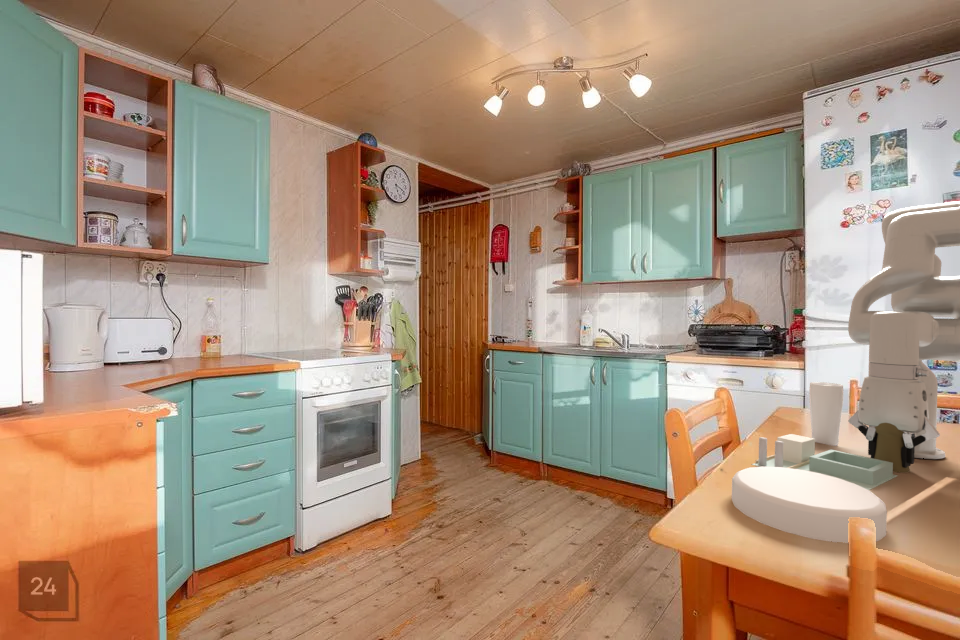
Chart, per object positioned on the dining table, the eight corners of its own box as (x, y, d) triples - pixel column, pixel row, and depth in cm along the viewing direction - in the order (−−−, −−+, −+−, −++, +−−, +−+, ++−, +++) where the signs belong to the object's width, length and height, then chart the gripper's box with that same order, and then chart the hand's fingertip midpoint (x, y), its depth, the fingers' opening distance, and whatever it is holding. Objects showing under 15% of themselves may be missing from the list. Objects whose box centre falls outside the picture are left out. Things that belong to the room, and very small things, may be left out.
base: (793, 456, 103) (793, 427, 103) (897, 481, 88) (898, 447, 88) (751, 470, 94) (752, 437, 94) (860, 501, 79) (861, 461, 78)
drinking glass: (840, 443, 116) (841, 383, 115) (843, 449, 110) (845, 386, 110) (807, 439, 119) (808, 381, 119) (808, 444, 114) (810, 384, 113)
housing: (790, 454, 101) (790, 433, 101) (814, 459, 97) (815, 438, 97) (776, 458, 98) (777, 437, 98) (801, 464, 94) (801, 442, 94)
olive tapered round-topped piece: (918, 480, 90) (920, 423, 89) (882, 477, 91) (884, 421, 91) (897, 470, 95) (898, 417, 95) (863, 467, 97) (865, 415, 97)
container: (905, 560, 60) (906, 524, 60) (730, 523, 70) (731, 493, 70) (867, 505, 77) (868, 478, 77) (732, 482, 87) (732, 458, 87)
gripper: (956, 376, 88) (954, 472, 88) (849, 367, 102) (847, 449, 102) (945, 379, 84) (942, 479, 84) (835, 369, 98) (833, 454, 98)
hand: (890, 462), depth 93 cm, fingers closed on olive tapered round-topped piece, 4 cm apart
